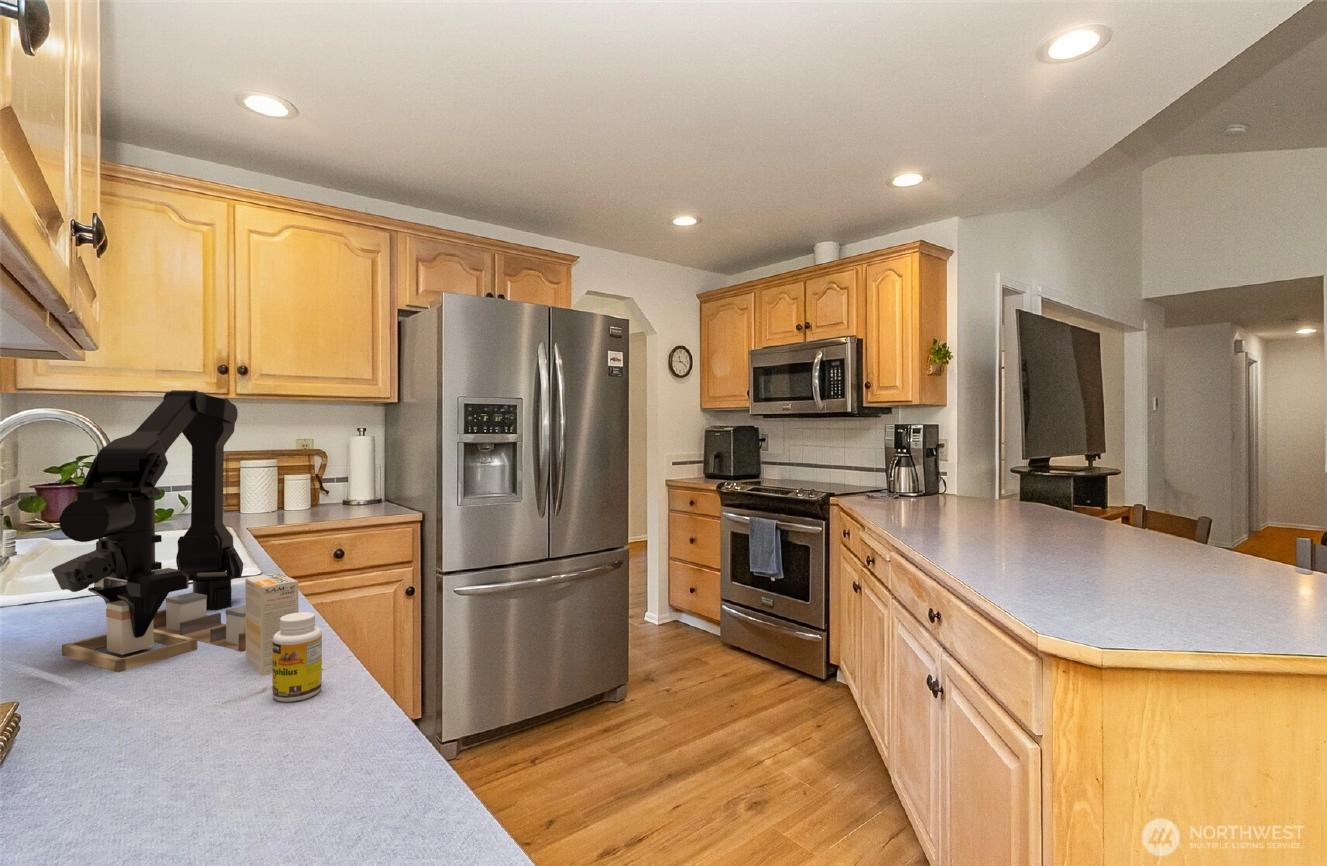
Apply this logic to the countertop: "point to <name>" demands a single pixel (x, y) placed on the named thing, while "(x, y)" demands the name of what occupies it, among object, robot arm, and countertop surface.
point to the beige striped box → (124, 630)
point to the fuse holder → (201, 630)
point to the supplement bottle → (297, 658)
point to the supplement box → (266, 615)
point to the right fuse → (235, 623)
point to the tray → (86, 654)
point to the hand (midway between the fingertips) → (130, 634)
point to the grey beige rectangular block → (184, 609)
